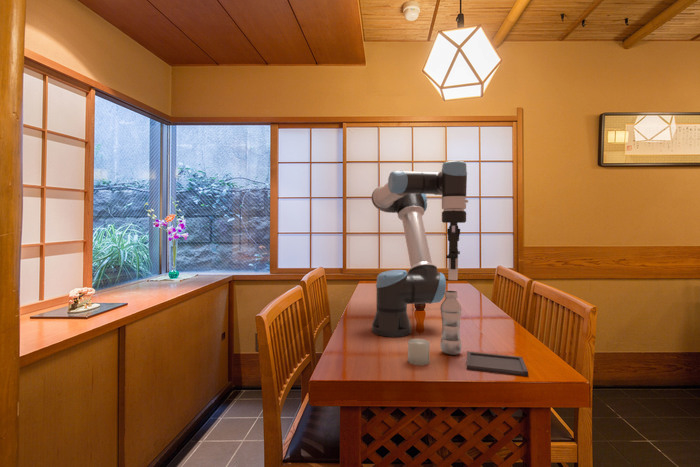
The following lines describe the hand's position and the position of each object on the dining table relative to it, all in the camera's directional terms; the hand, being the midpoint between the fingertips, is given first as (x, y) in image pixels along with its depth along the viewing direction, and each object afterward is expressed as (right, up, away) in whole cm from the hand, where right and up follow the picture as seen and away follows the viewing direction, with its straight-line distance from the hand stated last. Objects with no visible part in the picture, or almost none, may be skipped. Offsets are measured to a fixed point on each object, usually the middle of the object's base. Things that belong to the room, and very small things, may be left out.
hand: (453, 276), depth 120 cm
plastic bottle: (-1, -25, 0) cm, 25 cm away
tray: (+10, -25, -9) cm, 28 cm away
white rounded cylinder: (-12, -25, -6) cm, 29 cm away
